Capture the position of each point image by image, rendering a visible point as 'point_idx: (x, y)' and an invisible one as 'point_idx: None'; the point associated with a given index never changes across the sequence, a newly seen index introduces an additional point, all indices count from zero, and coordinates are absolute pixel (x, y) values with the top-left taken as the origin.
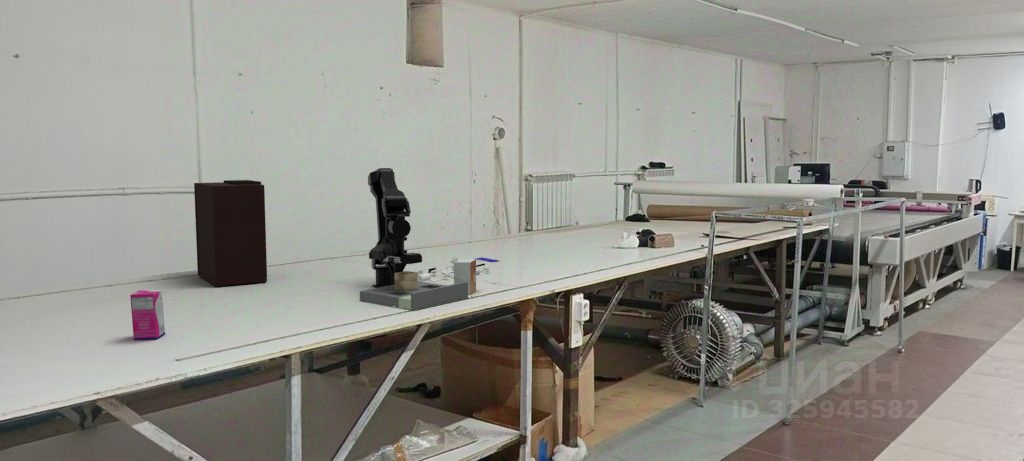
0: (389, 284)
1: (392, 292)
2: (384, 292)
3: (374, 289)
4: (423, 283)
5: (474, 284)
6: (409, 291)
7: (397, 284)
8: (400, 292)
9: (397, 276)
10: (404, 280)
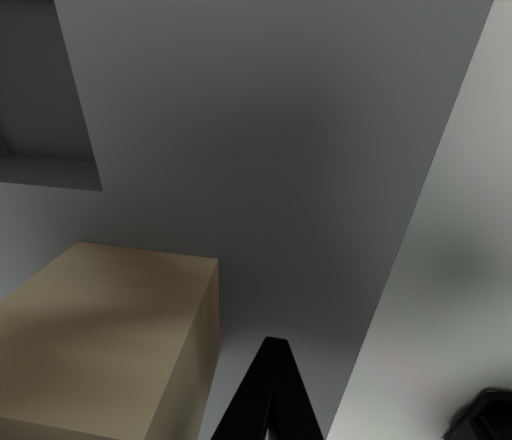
0: (479, 427)
1: (85, 108)
2: (117, 17)
3: (382, 109)
4: (214, 431)
5: None
6: (21, 224)
7: (163, 284)
8: (78, 184)
9: (106, 370)
10: (10, 313)
